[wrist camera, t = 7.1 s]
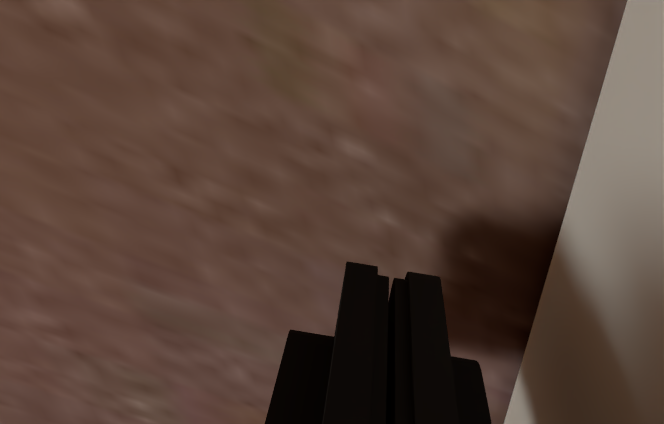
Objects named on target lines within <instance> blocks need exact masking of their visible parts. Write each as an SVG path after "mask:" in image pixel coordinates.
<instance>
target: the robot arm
mask: <svg viewBox="0 0 664 424" xmlns="http://www.w3.org/2000/svg"><path fill="white" fill-rule="evenodd" d="M377 273H378V267H377V266H371V265H365V264H359V263H353V262H347V263H346V269H345V275H344V281H343V287H342V293H341V299H340V305H339V311H338V318H337V324H336V330H335V336H334V337H332V336H326V335H320V334H314V333H308V332H302V331H296V330H290V331H289V334H288V338H287V341H286V345H285V349H284V353H283V356H282V360H281V364H280V368H279V372H278V375H277V379H276V383H275V387H274V391H273V395H272V398H271V402H270V406H269V410H268V414H267V417H266V421H265V424H491V419H490V413H489V408H488V403H487V398H486V393H485V387H484V382H483V377H482V372H481V368H480V365H479V363H478V362H477V361H475V360H469V359H463V358H457V357H451V356H450V348H449V341H448V333H447V325H446V317H445V309H444V302H443V294H442V286H441V279H440V277H438V276H432V275H426V274H420V273H413V272H407V274H406V277H405V280H404V279H398V278H394V280H393V284H392V288H391V293H390V297H389V277H387V276H381V275H377ZM388 297H389V302H388Z"/></svg>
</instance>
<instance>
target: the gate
mask: <svg viewBox="0 0 664 424" xmlns="http://www.w3.org/2000/svg"><path fill="white" fill-rule="evenodd" d="M504 424H664V0H628V1H627V4H626V7H625V11H624V14H623V18H622V21H621V25H620V28H619V31H618V35H617V38H616V42H615V45H614V48H613V52H612V55H611V59H610V62H609V66H608V69H607V72H606V76H605V79H604V83H603V86H602V89H601V93H600V96H599V100H598V103H597V107H596V110H595V113H594V117H593V120H592V124H591V127H590V130H589V134H588V137H587V141H586V144H585V148H584V151H583V154H582V158H581V161H580V165H579V168H578V172H577V175H576V178H575V182H574V185H573V189H572V192H571V195H570V199H569V202H568V206H567V209H566V213H565V216H564V219H563V223H562V226H561V230H560V233H559V236H558V240H557V243H556V247H555V250H554V254H553V257H552V260H551V264H550V267H549V271H548V274H547V277H546V281H545V284H544V288H543V291H542V295H541V298H540V301H539V305H538V308H537V312H536V315H535V318H534V322H533V325H532V329H531V332H530V336H529V339H528V342H527V346H526V349H525V353H524V356H523V360H522V363H521V366H520V370H519V373H518V377H517V380H516V383H515V387H514V390H513V394H512V397H511V401H510V404H509V407H508V411H507V414H506V418H505V421H504Z"/></svg>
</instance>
